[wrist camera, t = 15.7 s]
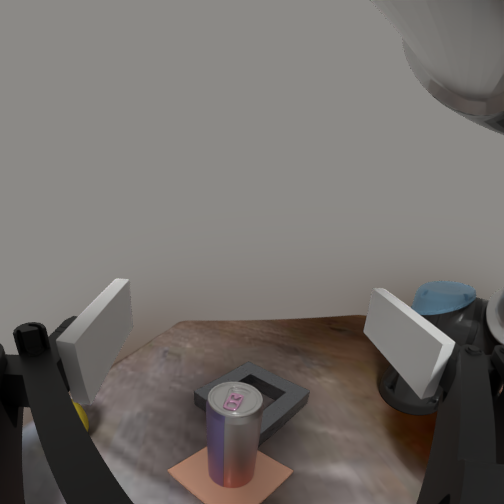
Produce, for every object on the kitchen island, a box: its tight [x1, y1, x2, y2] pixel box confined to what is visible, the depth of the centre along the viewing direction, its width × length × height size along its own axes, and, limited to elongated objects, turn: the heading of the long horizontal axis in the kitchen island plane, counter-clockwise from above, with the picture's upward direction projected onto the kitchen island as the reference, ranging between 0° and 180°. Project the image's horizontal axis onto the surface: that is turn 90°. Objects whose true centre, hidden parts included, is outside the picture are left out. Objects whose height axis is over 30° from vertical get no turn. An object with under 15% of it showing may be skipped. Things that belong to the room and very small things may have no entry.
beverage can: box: [206, 382, 264, 488], centre depth 29 cm, size 6×6×15 cm
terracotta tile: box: [168, 446, 293, 504], centre depth 31 cm, size 12×12×1 cm
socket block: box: [194, 361, 310, 446], centre depth 46 cm, size 14×14×3 cm
